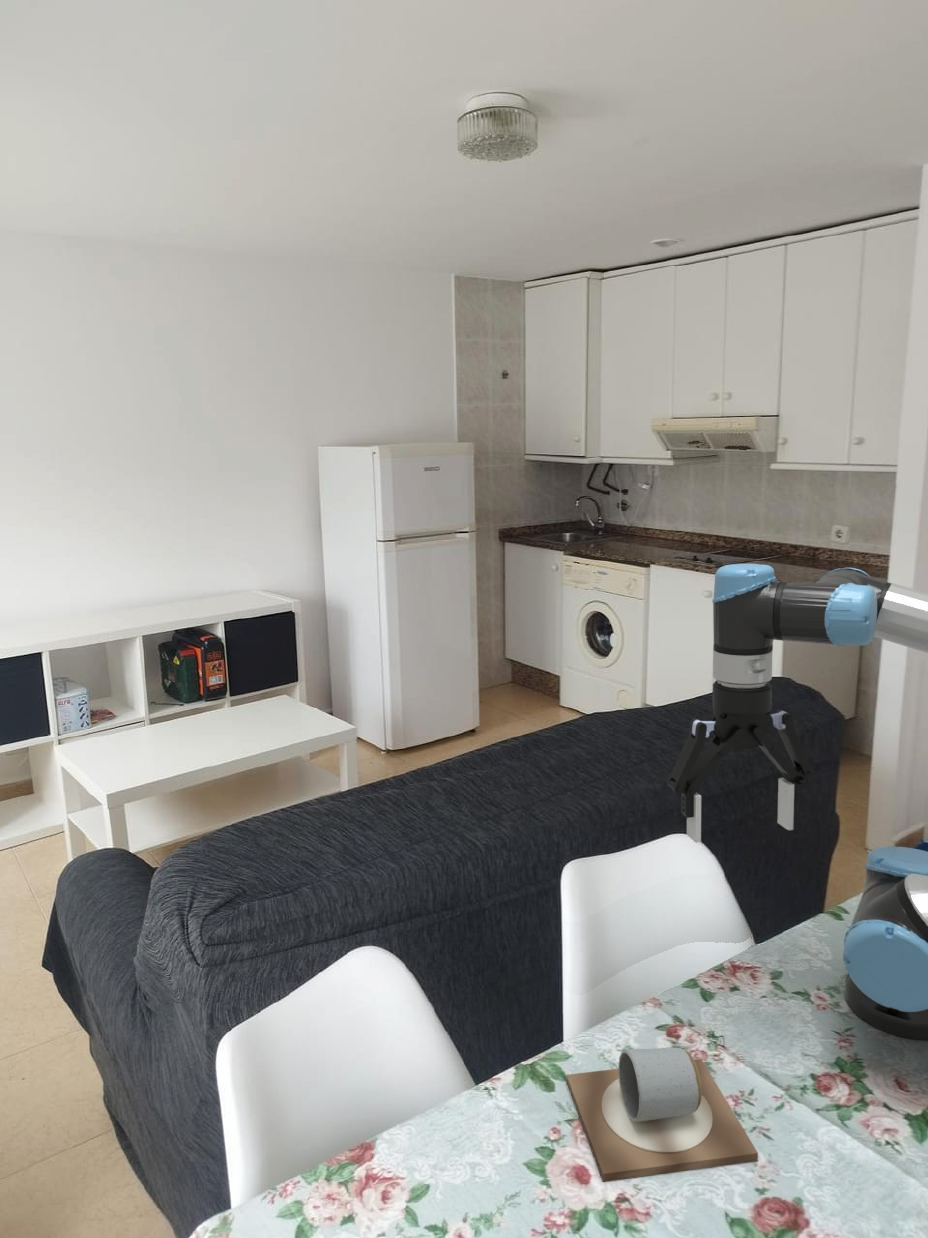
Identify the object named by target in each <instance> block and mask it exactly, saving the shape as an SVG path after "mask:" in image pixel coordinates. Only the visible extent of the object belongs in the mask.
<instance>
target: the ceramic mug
mask: <svg viewBox="0 0 928 1238" xmlns="http://www.w3.org/2000/svg"><path fill="white" fill-rule="evenodd" d="M694 1060H695V1058H694V1057H693V1056H692V1054H691V1053H690V1052H689V1051H688V1050H686V1049H684V1048H679V1047H670V1046H669V1047H657V1048H632V1049H631V1048H629V1049H627V1048H626V1049H624V1050H622V1051H621V1052H620V1055H619V1060H618V1069H619V1083H620V1090H621V1095H622V1100H623V1103H624V1106H625V1109H626V1112H627V1114H628V1116H629V1117H630V1119H631V1120H632V1121H634V1122H641V1121H647V1120H655V1119H662V1118H669V1117H677V1116H684V1115H688V1114H691V1113H693V1112H695V1111H696V1110H697V1109H698V1108H699V1105H700V1103H701V1097H702V1087H701V1079H700V1075H699V1071H698V1068H697V1065H696V1063H695V1061H694Z"/></svg>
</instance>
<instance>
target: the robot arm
mask: <svg viewBox="0 0 928 1238" xmlns="http://www.w3.org/2000/svg"><path fill="white" fill-rule="evenodd" d="M713 585H714V587H713V598H712V604H713V605H712V606H713V607H712V608H713V610H712V613H713V617H712V618H713V620H712V621H713V624H712V625H713V627H712V628H713V644H712V645H713V649H712V678H713V679H715V681H714V682H713V683H712V709H713V711H712V712H713V714H712V715H713V716H712V719H711V720H707V721H706V720H699V719H697V718H692V719H691V720H690V722H689V730H688V731H689V732H688V736H687V738H686V739H685V743H684V745H683V747H682V748H681V751H680V753H679V756H678V757H677V760H676V762H675V764H674V766H673V768H672V771H671V773H670V775H669V776H668V779H667V782H666V783H667V786H668V787H670V789H672V790H673V791H674V792H675V793H677V794H681V795H680V806H681V807H680V811H681V814H682V815H683V816H684V817H685V818H686V836H687V837H689V838H690V839H691V840H692V841H693V842H694V843H701V842H702V795H701V794H699V792H698V790H699V789H701V787H702V785H703V784H704V783H705V781H707V779H708V777H709V776H710V775H711V774H712V772H713V771H714V770H715V768H716V767H717V765H718V764H719V763H720V761H722V759H723V758H725V757H727V756H728V755H729V753H730V752H731V751H732V752H734V753H737V752H742V751H744V750H748V751H755V750H756V749H757V748H758V747H759V748H760V749H761V751H762V752H763V753H764V754H765V755H766V756H767V758H768V759H769V760H770V761H771V762H772V763H773V764H774V766H775V767H776V768H777V769H778V770H779V771H780V773H781V774H782V775H783V776H784V777H785V778H784V777H780V778H778V781H777V782H778V783H777V785H778V787H777V788H778V789H777V790H778V791H777V824H778V825H780V826H781V827H783V828H784V829H786V830H787V831H793V830H794V815H795V810H794V809H795V808H794V807H795V805H797V804H799V801H800V800H799V799H800V797H799V796H800V786H802V785H804V783H805V782H806V779H805V778H807V777H808V778H811V777H812V776H813V775H814V769H813V767H812V765H811V763H810V761H809V758H808V756H807V754H806V753H805V752H806V751H805V750H804V748H803V746H802V744H801V741H800V739H799V737H798V735H797V733H796V731H795V727H794V726H795V725H794V717H793V715H792V714H790V713H788V712H787V711H784V710H782V709H777V710H775V713H772V714H771V710H772V705H773V701H772V700H773V685H771V683H770V681H771V680H772V679H773V650H774V649H773V648H774V641H782V642H784V641H786V642H788V641H789V642H798V643H799V642H800V643H811V644H812V643H813V644H814V643H815V644H825V645H835V646H838V647H844V646H845V647H846V646H867V645H869V644H870V643H871V642H872V641H873V639H874V638H878V639H881V640H884V641H888V642H890V643H894V644H898V645H900V646H904V647H907V648H910V649H914V650H917V651H920V652H922V653H925V654H926V653H927V654H928V592H925V591H922V590H918V589H915V588H911V587H908V586H904V585H901V584H896V583H892V582H887V581H885V580H882V579H878V578H876V577H871V576H870V574H868V573H866V572H865V571H864V570H863V569H862V570H861V569H858V568H854V567H843V568H836V569H833V570H831V571H829V572H827V573H826V574H824V575H823V576H822V577H821V578H820V579H819V580H817V581H816V582H788V581H781V580H777V578H776V576H775V568H773V567H772V566H770V565H768V564H758V563H733V564H732V563H731V564H726V565H723V566H721V567H719V568H718V569H717V570H716V572H715V575H714V584H713ZM772 727H774V728H776V730H777V732H778V735H779V737H780V739H781V741H782V743H783V745H784V748H785V749H786V751H787V754H788V756H789V758H790V760H791V762H792V764H793V765H792V764H791V763H790V762H789V760H788V759H787V758H786V757H785V756H784V754H783V753H782V752H781V751H780V750H779V749H778V748H777V746H776V744H775V743H774V742H773V741H772V740H771V738H770V737H769V736H768V733H769V731H770V730H771V728H772ZM711 732H712V733H713V736H712V737H711V739H710V740H709V741H708V743H707V746H706V749H705V750H704V751H703V753H702V754H701V751H702V750H703V748H704V746H705V742H706V738H710V737H709V736H710V733H711ZM700 754H701V756H700ZM864 868H865V869H866V872H865V882H864V889H863V891H862V895H861V898H860V900H859V903H858V906H857V908H856V911H855V914H854V916H853V919H852V921H851V924H850V927H849V928H848V930H847V931H846V933H845V936H844V939H843V940H844V941H843V953H842V954H843V962H844V966H845V970H846V971H847V975H846V978H845V982H844V983H845V984H844V999H845V1002H846V1004H847V1005H848V1007H849V1008H850V1010H852V1012H853V1013H854V1014H855V1015H856V1016H857V1017H859V1018H860V1019H861V1020H862V1021H864V1022H866V1023H867V1024H869V1025H871V1026H873V1027H875V1028H877V1029H878V1030H881V1031H883V1032H886V1033H888V1034H891V1035H894V1036H899V1037H903V1038H907V1039H913V1040H925V1041H926V1040H927V1041H928V851H926V850H922V849H918V848H912V847H906V846H881V847H877V848H874V849H872V850H870V852H868V855H867V859H866V864H865V865H864Z"/></svg>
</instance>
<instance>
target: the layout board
mask: <svg viewBox="0 0 928 1238" xmlns="http://www.w3.org/2000/svg"><path fill="white" fill-rule="evenodd" d="M694 1061H695V1063H696V1065H697V1068H698V1071H699V1075H700V1079H701V1087H702V1097H701V1103H700V1105H699V1108H698V1109H697V1110H696V1111H695V1112H693V1113H691V1114H688V1115H684V1116H677V1117H669V1118H662V1119H655V1120H647V1121H641V1122H634V1121H632V1120H631V1119H630V1117H629V1116H628V1114H627V1112H626V1109H625V1106H624V1103H623V1100H622V1095H621V1090H620V1083H619V1068H613V1069H605V1070H603V1069H602V1070H597V1071H588V1072H579V1073H570V1074H566V1075H565V1076H566V1077H565V1078H566V1085H567V1087H568V1089H569V1093H570V1095H571V1098H572V1100H573V1104H574V1106H575V1109H576V1111H577V1114H578V1117H579V1120H580V1122H581V1125H582V1128H583V1131H584V1134H585V1136H586V1139H587V1142H588V1144H589V1147H590V1149H591V1152H592V1155H593V1158H594V1160H595V1163H596V1166H597V1169H598V1171H599V1175H600V1177H601V1180H602V1182H610V1181H611V1182H612V1181H619V1180H626V1179H632V1178H640V1177H647V1176H648V1177H649V1176H655V1175H662V1174H663V1175H664V1174H670V1173H677V1172H685V1171H692V1170H700V1169H706V1168H713V1167H715V1168H716V1167H721V1166H727V1165H728V1166H729V1165H737V1164H743V1163H745V1164H746V1163H750V1162H751V1163H752V1162H758V1161H759V1159H758V1157H759V1152H758V1151H757V1149H756V1148H755V1146H754V1144H753V1143H752V1141H751V1139H750V1138H749V1136H748V1134H747V1133H746V1130H745V1129H744V1128H743V1125H742V1124H741V1123H740V1121H739V1119H738V1117H737V1116H736V1114H735V1112H734V1111H733V1109H732V1108H731V1106H730V1103H728V1101H727V1099H726V1097H725V1096H724V1094H723V1092H722V1091H721V1089H720V1088H719V1086H718V1084H717V1082H716V1081H715V1079H714V1078H713V1076H712V1074H711V1072H710V1070H708V1067H707V1066H706V1064H705V1063H704V1061H703V1059H702V1058H697V1059H694Z"/></svg>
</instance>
